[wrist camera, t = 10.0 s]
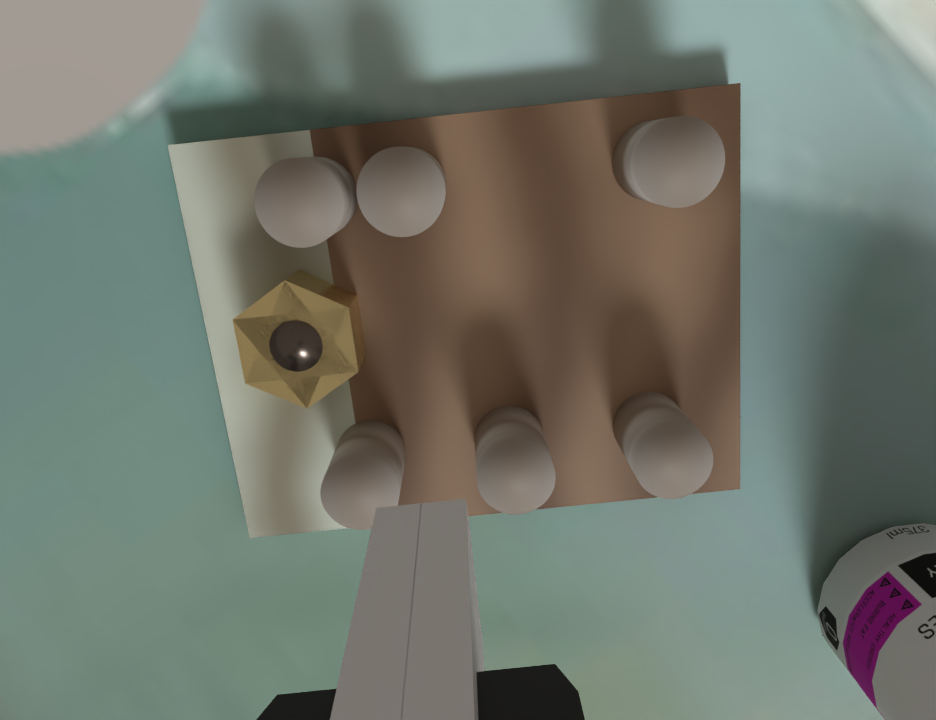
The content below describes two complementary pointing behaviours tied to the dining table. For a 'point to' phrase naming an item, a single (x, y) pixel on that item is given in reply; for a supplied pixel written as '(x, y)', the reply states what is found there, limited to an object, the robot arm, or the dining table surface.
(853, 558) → the supplement can
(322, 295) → the brass nut
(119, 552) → the dining table surface
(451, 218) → the board
